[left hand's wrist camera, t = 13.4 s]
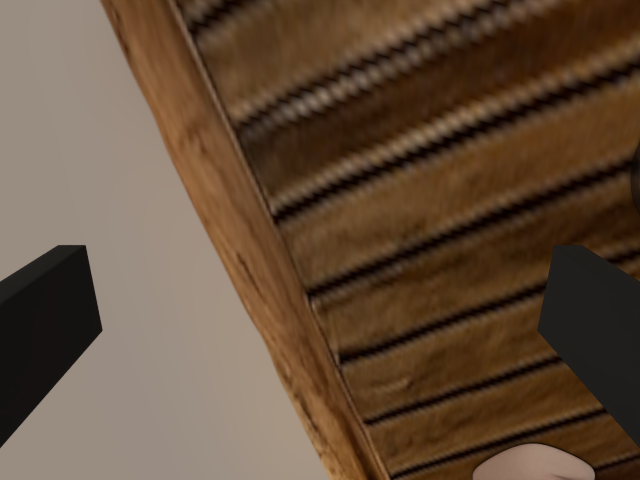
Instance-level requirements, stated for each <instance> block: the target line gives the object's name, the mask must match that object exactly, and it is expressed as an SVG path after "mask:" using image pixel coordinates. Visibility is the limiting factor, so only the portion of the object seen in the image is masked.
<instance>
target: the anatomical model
mask: <svg viewBox="0 0 640 480" xmlns="http://www.w3.org/2000/svg"><path fill="white" fill-rule="evenodd" d="M594 478H595V473H594V471H593V469H592V468H591V467H590V466H589V465H588V464H587V463H585V462H584V461H582V460H580V459H578V458H576V457H575V456H573V455H570V454H568V453H566V452H563V451H561V450H559V449H556V448H553V447H550V446H546V445H542V444H523V445H519V446H516V447H513V448H510V449H508V450H505V451H503V452H501V453H499V454H497V455H495V456H493V457H492V458H490V459H488V460H487V461H485V462H484V463H482V464H481V465H479V466H478V467H477V468H476V469H475V471H474V473H473V480H594Z"/></svg>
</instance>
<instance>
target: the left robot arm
mask: <svg viewBox="0 0 640 480" xmlns="http://www.w3.org/2000/svg"><path fill="white" fill-rule="evenodd" d="M631 191H632V196H633V200H634V203H635V206H636V208H637V210H638V212H639V214H640V142H639V145H638V147H637V150H636V153H635V156H634V160H633V164H632V170H631ZM537 331H538V332H539V333H540V334H541V335H542V336H543V338H544V339H545V340H546V341H547V342H548V343H549V344H550V346H551V347H552V348H553V349H554V350H555V351H556V352H557V354H558V355H559V356H560V357H561V358H562V359H563V361H564V362H565V363H566V364H567V365H568V366H569V367H570V369H571V370H572V371H573V372H574V373H575V374H576V375H577V377H578V378H579V379H580V380H581V381H582V382H583V384H584V385H585V386H586V387H587V388H588V389H589V390H590V392H591V393H592V394H593V395H594V396H595V397H596V398H597V400H598V401H599V402H600V403H601V404H602V405H603V406H604V408H605V409H606V410H607V411H608V412H609V413H610V415H611V416H612V417H613V418H614V419H615V420H616V421H617V423H618V424H619V425H620V426H621V427H622V428H623V429H624V431H625V432H626V433H627V434H628V435H629V436H630V437H631V439H632V440H633V441H634V442H635V443H636V444H637V446H638V447H639V448H640V281H638V280H636V279H635V278H633V277H632V276H630V275H628V274H627V273H625V272H624V271H622V270H620V269H619V268H617V267H616V266H614V265H613V264H611V263H609V262H608V261H606V260H605V259H603V258H601V257H600V256H598V255H597V254H595V253H593V252H592V251H590V250H589V249H587V248H585V247H584V246H582V245H554V250H553V255H552V260H551V265H550V270H549V275H548V280H547V285H546V290H545V295H544V300H543V305H542V310H541V315H540V320H539V325H538V330H537ZM101 332H102V325H101V320H100V315H99V310H98V305H97V300H96V295H95V290H94V285H93V280H92V275H91V270H90V265H89V260H88V255H87V250H86V246H85V245H58V246H56V247H55V248H53V249H51V250H50V251H48V252H47V253H45V254H43V255H42V256H40V257H39V258H37V259H35V260H34V261H32V262H31V263H29V264H28V265H26V266H24V267H23V268H21V269H20V270H18V271H16V272H15V273H13V274H12V275H10V276H8V277H7V278H5V279H4V280H2V281H0V448H1V447H2V446H3V444H4V443H5V442H6V441H7V440H8V439H9V437H10V436H11V435H12V434H13V433H14V432H15V431H16V429H17V428H18V427H19V426H20V425H21V424H22V423H23V421H24V420H25V419H26V418H27V417H28V416H29V415H30V413H31V412H32V411H33V410H34V409H35V408H36V406H37V405H38V404H39V403H40V402H41V401H42V400H43V398H44V397H45V396H46V395H47V394H48V393H49V391H50V390H51V389H52V388H53V387H54V386H55V385H56V383H57V382H58V381H59V380H60V379H61V378H62V377H63V375H64V374H65V373H66V372H67V371H68V370H69V369H70V367H71V366H72V365H73V364H74V363H75V362H76V360H77V359H78V358H79V357H80V356H81V355H82V354H83V352H84V351H85V350H86V349H87V348H88V347H89V346H90V344H91V343H92V342H93V341H94V340H95V339H96V338H97V336H98V335H99V334H100V333H101Z"/></svg>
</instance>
